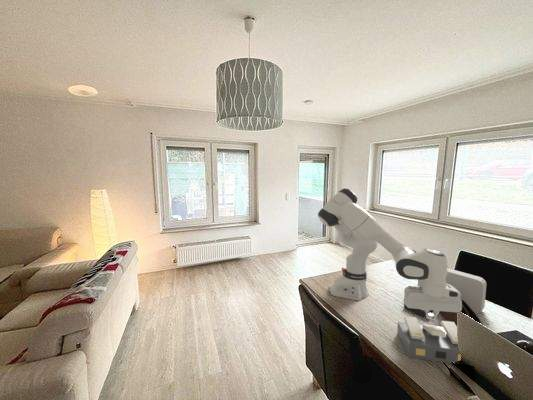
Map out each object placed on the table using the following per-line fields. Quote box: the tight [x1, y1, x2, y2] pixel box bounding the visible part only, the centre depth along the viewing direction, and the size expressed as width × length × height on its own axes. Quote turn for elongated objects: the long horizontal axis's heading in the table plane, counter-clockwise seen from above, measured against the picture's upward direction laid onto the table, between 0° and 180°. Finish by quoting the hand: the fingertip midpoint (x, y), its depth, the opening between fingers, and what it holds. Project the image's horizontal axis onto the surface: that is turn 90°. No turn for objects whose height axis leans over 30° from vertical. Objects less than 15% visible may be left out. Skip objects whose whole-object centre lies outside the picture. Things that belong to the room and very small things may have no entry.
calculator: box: [403, 304, 434, 320], centre depth 117 cm, size 11×4×15 cm
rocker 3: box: [440, 320, 458, 344], centre depth 88 cm, size 4×9×2 cm, turn 166°
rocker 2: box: [422, 323, 446, 337], centre depth 90 cm, size 4×9×2 cm, turn 166°
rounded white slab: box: [417, 267, 487, 315], centre depth 123 cm, size 29×8×18 cm, turn 33°
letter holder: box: [439, 299, 483, 326], centre depth 104 cm, size 10×20×14 cm, turn 159°
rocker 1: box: [403, 315, 425, 340], centre depth 91 cm, size 4×9×2 cm, turn 166°
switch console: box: [396, 321, 461, 364], centre depth 90 cm, size 22×13×7 cm, turn 76°
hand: (430, 318), depth 93 cm, fingers closed
